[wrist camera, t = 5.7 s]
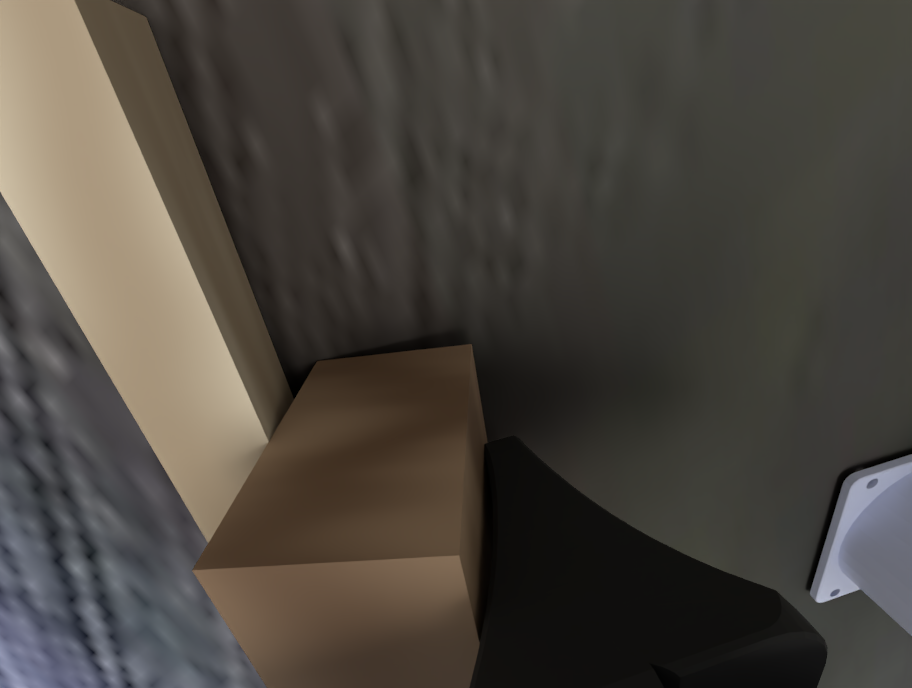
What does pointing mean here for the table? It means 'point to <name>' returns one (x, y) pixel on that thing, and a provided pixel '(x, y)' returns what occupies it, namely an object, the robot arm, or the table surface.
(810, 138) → the table surface
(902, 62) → the table surface
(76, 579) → the table surface
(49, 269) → the maple board
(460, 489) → the walnut block
